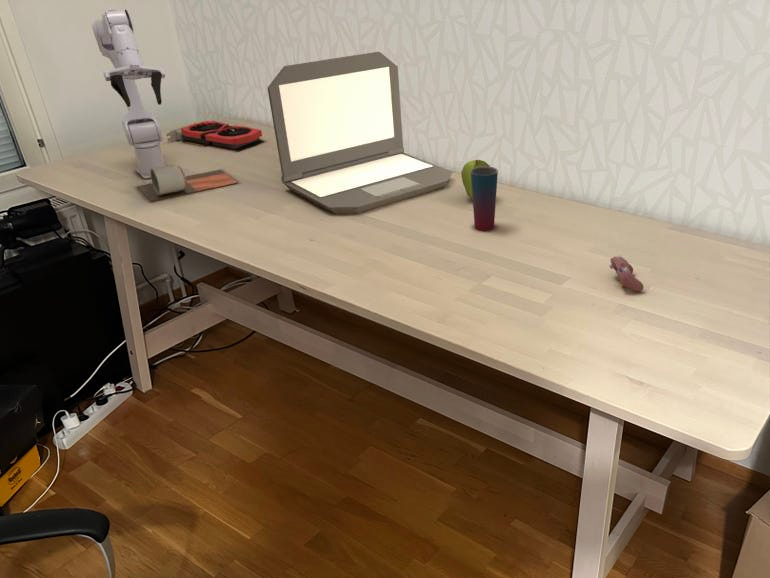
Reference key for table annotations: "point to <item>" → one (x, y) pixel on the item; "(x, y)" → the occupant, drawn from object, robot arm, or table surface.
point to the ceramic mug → (168, 179)
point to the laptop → (346, 134)
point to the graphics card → (217, 135)
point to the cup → (484, 196)
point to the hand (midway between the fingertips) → (144, 103)
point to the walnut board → (192, 185)
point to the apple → (467, 174)
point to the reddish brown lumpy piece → (625, 274)
